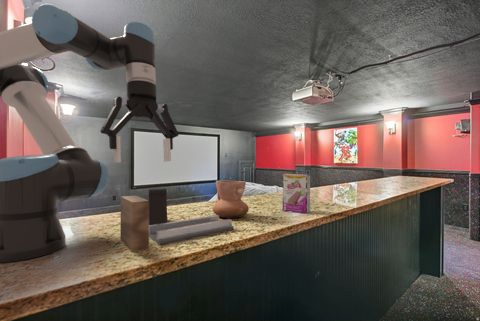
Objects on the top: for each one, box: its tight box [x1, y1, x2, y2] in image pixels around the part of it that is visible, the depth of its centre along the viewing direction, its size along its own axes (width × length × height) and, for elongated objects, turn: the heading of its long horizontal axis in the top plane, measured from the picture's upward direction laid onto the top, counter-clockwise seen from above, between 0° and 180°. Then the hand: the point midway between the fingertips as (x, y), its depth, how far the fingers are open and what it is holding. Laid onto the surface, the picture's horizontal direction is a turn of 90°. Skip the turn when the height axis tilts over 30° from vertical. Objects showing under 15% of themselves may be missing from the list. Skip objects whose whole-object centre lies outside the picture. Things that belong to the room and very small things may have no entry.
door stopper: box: [148, 188, 168, 225], centre depth 89 cm, size 9×6×12 cm, turn 22°
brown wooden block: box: [120, 195, 150, 252], centre depth 66 cm, size 4×12×12 cm, turn 38°
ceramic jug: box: [212, 179, 249, 219], centre depth 100 cm, size 18×14×14 cm
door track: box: [149, 214, 235, 246], centre depth 76 cm, size 24×11×3 cm, turn 128°
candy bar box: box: [282, 173, 311, 214], centre depth 108 cm, size 11×5×16 cm, turn 58°
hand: (144, 162), depth 66 cm, fingers open, 13 cm apart
